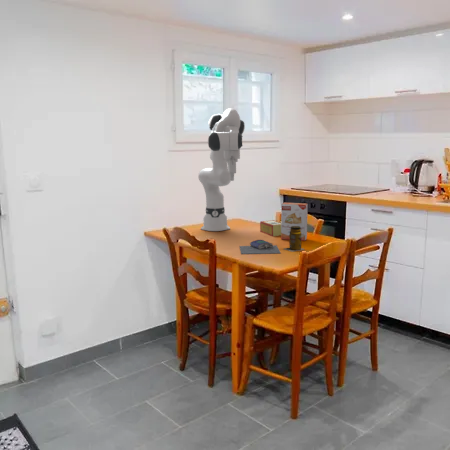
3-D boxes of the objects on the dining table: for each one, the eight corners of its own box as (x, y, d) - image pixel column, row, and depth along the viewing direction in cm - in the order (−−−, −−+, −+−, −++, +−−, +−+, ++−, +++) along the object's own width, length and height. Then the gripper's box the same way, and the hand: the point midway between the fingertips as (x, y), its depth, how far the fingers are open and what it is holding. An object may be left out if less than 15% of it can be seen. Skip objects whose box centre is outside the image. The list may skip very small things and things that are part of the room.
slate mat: (239, 246, 255) (239, 245, 255) (276, 245, 256) (276, 245, 256) (241, 254, 239) (241, 253, 238) (280, 253, 239) (280, 252, 239)
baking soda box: (260, 231, 294) (272, 236, 280) (260, 221, 293) (272, 225, 279) (273, 230, 298) (286, 235, 284) (273, 220, 297) (286, 224, 282)
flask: (249, 246, 254) (260, 250, 245) (249, 240, 254) (260, 244, 245) (264, 244, 259) (275, 248, 249) (264, 238, 258) (275, 242, 249)
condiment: (304, 249, 247) (305, 227, 244) (292, 251, 242) (292, 228, 240) (295, 247, 253) (295, 224, 250) (283, 249, 248) (283, 226, 246)
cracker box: (280, 239, 271) (281, 203, 267) (283, 237, 276) (283, 202, 272) (305, 241, 266) (305, 204, 262) (307, 239, 271) (307, 203, 268)
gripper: (238, 156, 253) (238, 182, 256) (236, 154, 274) (237, 178, 276) (226, 156, 253) (227, 182, 256) (225, 155, 273) (226, 179, 276)
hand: (232, 180), depth 266 cm, fingers closed
